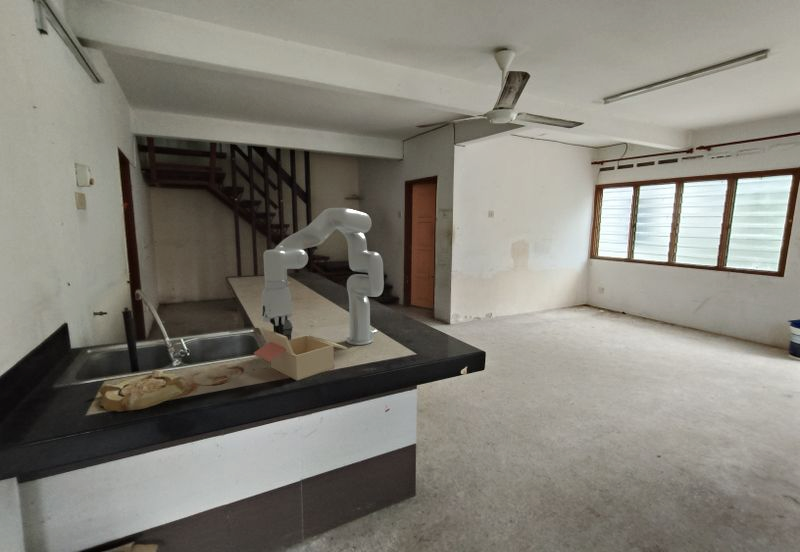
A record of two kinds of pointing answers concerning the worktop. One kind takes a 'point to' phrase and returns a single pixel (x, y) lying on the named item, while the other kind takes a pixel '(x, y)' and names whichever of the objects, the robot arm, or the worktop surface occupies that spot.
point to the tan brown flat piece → (142, 391)
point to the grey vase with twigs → (287, 329)
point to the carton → (305, 358)
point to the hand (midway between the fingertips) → (278, 335)
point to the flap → (273, 345)
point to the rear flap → (329, 342)
